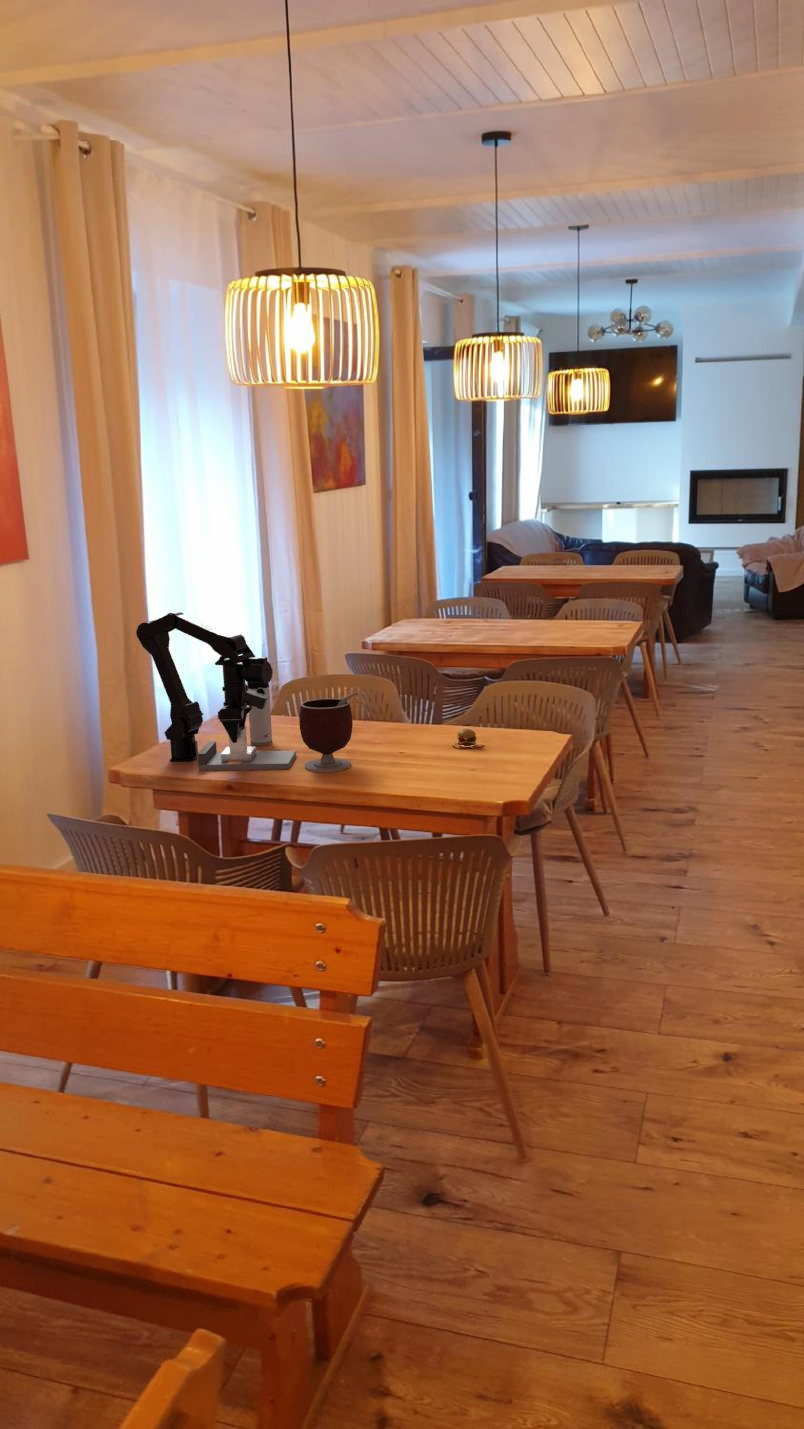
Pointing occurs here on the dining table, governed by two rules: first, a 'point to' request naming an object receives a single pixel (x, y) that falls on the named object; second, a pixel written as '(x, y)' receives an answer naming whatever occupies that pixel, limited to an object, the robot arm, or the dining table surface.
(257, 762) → the slide board
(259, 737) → the travel mug
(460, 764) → the dining table surface
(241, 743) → the slider
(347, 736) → the mate gourd
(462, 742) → the hamburger
